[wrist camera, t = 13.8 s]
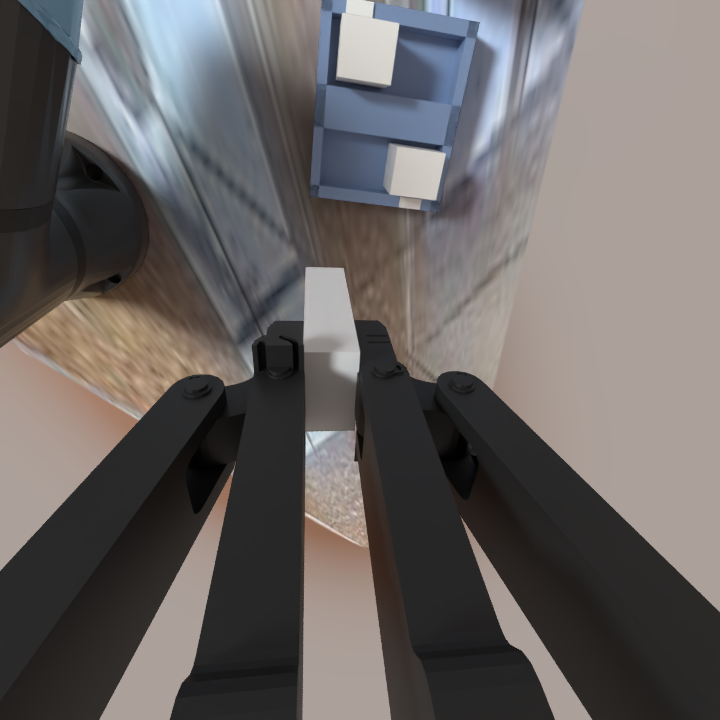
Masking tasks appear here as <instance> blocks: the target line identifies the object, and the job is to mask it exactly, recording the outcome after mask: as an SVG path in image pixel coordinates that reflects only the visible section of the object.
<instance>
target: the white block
mask: <svg viewBox="0 0 720 720" xmlns="http://www.w3.org/2000/svg"><path fill="white" fill-rule="evenodd" d="M445 156H446V153H443V152H440V151H437V150H434V149H429V148H422V147H416V146H409V145H402V144H395V143H389V146H388V153H387V160H386V166H385V173H384V180H383V187H384V188H385V189H386V190H387V192H388V193H389V194H390V195H398V196H405V197H413V198H421V199H428V200H436V198H437V193H438V188H439V184H440V179H441V174H442V170H443V165H444V160H445Z"/></svg>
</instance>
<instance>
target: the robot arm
mask: <svg viewBox="0 0 720 720" xmlns="http://www.w3.org/2000/svg"><path fill="white" fill-rule="evenodd" d="M82 8H83V0H0V348H1V347H2V346H4V345H5V344H6V343H8V342H9V341H11V340H12V339H13V338H15V337H16V336H17V335H19V334H20V333H22V332H23V331H24V330H26V329H27V328H28V327H30V326H31V325H32V324H34V323H35V322H37V321H38V320H39V319H41V318H42V317H43V316H45V315H46V314H47V313H49V312H50V311H52V310H53V309H54V308H56V307H57V306H58V305H60V304H61V303H62V302H64V301H68V300H75V299H81V298H88V297H94V296H99V295H102V294H105V293H107V292H110V291H112V290H114V289H115V288H117V287H119V286H120V285H121V284H123V283H124V282H125V281H126V280H127V279H129V278H130V277H131V276H132V275H133V274H134V273H135V272H136V271H137V270H138V268H139V267H140V265H141V264H142V262H143V260H144V258H145V255H146V252H147V248H148V241H149V229H148V221H147V217H146V213H145V209H144V206H143V204H142V201H141V199H140V197H139V195H138V193H137V191H136V189H135V188H134V186H133V184H132V183H131V181H130V180H129V179H128V177H127V176H126V175H125V173H124V172H123V171H122V170H121V169H120V167H119V166H118V165H117V164H116V163H115V162H114V161H113V160H112V159H111V158H110V157H109V156H107V155H106V154H105V153H104V152H103V151H101V150H100V149H99V148H97V147H96V146H94V145H93V144H91V143H90V142H88V141H87V140H85V139H83V138H81V137H79V136H77V135H75V134H73V133H71V132H68V131H66V127H67V121H68V115H69V109H70V103H71V97H72V91H73V85H74V79H75V73H76V67H77V64H81V61H82V54H81V52H80V50H79V48H78V47H79V37H80V27H81V18H82ZM252 352H253V363H254V376H253V377H252V378H251V379H249V380H247V381H245V382H242V383H239V384H235V385H230V386H224V383H223V381H222V380H221V379H219V378H218V377H216V376H212V375H192V376H188V377H186V378H183V379H181V380H179V381H177V382H176V383H175V384H173V385H172V386H171V387H170V388H169V389H168V390H167V391H166V392H165V393H164V395H163V396H162V397H161V398H160V399H159V400H158V401H157V402H156V403H155V404H154V405H153V406H152V408H151V409H150V410H149V411H148V412H147V413H146V414H145V415H144V416H143V417H142V418H141V419H140V420H139V422H138V423H137V424H136V425H135V426H134V427H133V428H132V429H131V430H130V431H129V432H128V434H127V435H126V436H125V437H124V438H123V439H122V440H121V441H120V442H119V443H118V444H117V445H116V447H115V448H114V449H113V450H112V451H111V452H110V453H109V454H108V455H107V456H106V457H105V458H104V459H103V460H102V462H101V463H100V464H99V465H98V466H97V467H96V468H95V469H94V470H93V471H92V472H91V473H90V475H89V476H88V477H87V478H86V479H85V480H84V481H83V482H82V483H81V484H80V485H79V486H78V488H77V489H76V490H75V491H74V492H73V493H72V494H71V495H70V496H69V497H68V498H67V499H66V501H65V502H64V503H63V504H62V505H61V506H60V507H59V508H58V509H57V510H56V511H55V512H54V514H53V515H52V516H51V517H50V518H49V519H48V520H47V521H46V522H45V523H44V524H43V525H42V527H41V528H40V529H39V530H38V531H37V532H36V533H35V534H34V535H33V536H32V537H31V538H30V539H29V541H28V542H27V543H26V544H25V545H24V546H23V547H22V548H21V549H20V550H19V551H18V552H17V553H16V555H15V556H14V557H13V558H12V559H11V560H10V561H9V562H8V563H7V564H6V565H5V567H4V568H3V569H2V570H1V571H0V720H99V719H100V717H101V715H102V713H103V711H104V710H105V708H106V706H107V704H108V702H109V700H110V699H111V697H112V695H113V693H114V691H115V689H116V687H117V685H118V684H119V682H120V680H121V678H122V676H123V674H124V672H125V670H126V669H127V667H128V665H129V663H130V661H131V659H132V657H133V656H134V653H135V652H136V650H137V648H138V646H139V644H140V642H141V641H142V639H143V637H144V635H145V633H146V631H147V629H148V627H149V626H150V624H151V622H152V620H153V618H154V616H155V614H156V613H157V611H158V609H159V607H160V605H161V603H162V601H163V600H164V597H165V596H166V594H167V592H168V590H169V588H170V586H171V585H172V583H173V581H174V579H175V577H176V575H177V573H178V572H179V570H180V568H181V566H182V564H183V562H184V560H185V558H186V556H187V555H188V553H189V551H190V549H191V547H192V545H193V543H194V541H195V540H196V538H197V536H198V534H199V532H200V530H201V529H202V527H203V525H204V523H205V521H206V519H207V517H208V515H209V514H210V512H211V510H212V508H213V506H214V504H215V502H216V500H217V498H218V497H219V495H220V493H221V491H222V489H223V487H224V486H225V484H226V482H227V480H228V478H229V476H230V474H231V473H232V471H233V469H234V465H235V469H234V473H233V478H232V483H231V488H230V493H229V498H228V503H227V507H226V512H225V517H224V522H223V527H222V532H221V537H220V541H219V546H218V551H217V556H216V561H215V566H214V571H213V576H212V580H211V585H210V590H209V595H208V600H207V605H206V609H205V615H204V619H203V624H202V629H201V634H200V639H199V644H198V648H197V653H196V658H195V661H194V666H193V668H192V671H191V673H190V675H189V676H188V677H187V678H186V679H185V681H184V682H183V683H182V685H181V687H180V689H179V691H178V694H177V696H176V699H175V703H174V706H173V710H172V714H171V718H170V720H302V698H303V697H302V696H303V695H302V694H303V615H304V614H303V612H304V529H305V525H304V524H305V431H346V430H355V420H356V427H357V431H356V445H355V458H354V461H358V464H359V472H360V480H361V488H362V495H363V503H364V511H365V519H366V526H367V534H368V542H369V550H370V557H371V565H372V573H373V581H374V588H375V596H376V604H377V611H378V619H379V627H380V635H381V642H382V650H383V658H384V666H385V674H386V681H387V689H388V697H389V705H390V713H391V720H555V719H554V716H553V713H552V711H551V708H550V706H549V704H548V701H547V698H546V696H545V693H544V691H543V688H542V686H541V683H540V681H539V679H538V677H537V675H536V672H535V670H534V668H533V666H532V664H531V662H530V661H529V660H528V659H527V657H526V656H525V655H524V653H523V652H522V651H521V650H519V649H517V648H515V647H513V646H512V645H510V644H509V643H508V641H507V640H506V639H505V637H504V634H503V632H502V630H501V628H500V625H499V622H498V619H497V616H496V614H495V611H494V608H493V605H492V602H491V600H490V597H489V594H488V591H487V589H486V586H485V583H484V580H483V577H482V575H481V572H480V569H479V566H478V564H477V561H476V558H475V555H474V553H473V550H472V547H471V544H470V541H469V539H468V536H467V533H466V530H465V528H464V525H463V522H462V520H461V517H462V519H463V520H464V522H465V523H466V525H467V526H468V528H469V529H470V531H471V532H472V534H473V536H474V537H475V539H476V540H477V542H478V543H479V545H480V546H481V548H482V550H483V551H484V553H485V554H486V556H487V557H488V559H489V560H490V562H491V563H492V565H493V566H494V568H495V569H496V571H497V573H498V574H499V576H500V577H501V579H502V580H503V582H504V584H505V585H506V587H507V588H508V590H509V591H510V593H511V594H512V596H513V597H514V599H515V601H516V602H517V604H518V605H519V607H520V608H521V610H522V611H523V613H524V615H525V616H526V618H527V619H528V621H529V622H530V624H531V625H532V627H533V628H534V630H535V631H536V633H537V635H538V636H539V638H540V639H541V641H542V642H543V644H544V645H545V647H546V649H547V650H548V652H549V653H550V655H551V656H552V658H553V659H554V661H555V662H556V664H557V666H558V667H559V669H560V670H561V672H562V673H563V675H564V676H565V678H566V679H567V681H568V683H569V684H570V685H571V687H572V689H573V690H574V692H575V693H576V695H577V696H578V698H579V700H580V701H581V703H582V704H583V706H584V707H585V709H586V710H587V712H588V714H589V715H590V717H591V718H592V720H720V612H719V611H718V610H717V609H716V608H715V607H714V606H713V605H712V604H711V603H710V602H709V601H708V600H707V599H706V598H705V597H703V596H702V594H701V593H699V592H698V591H697V590H696V589H695V588H694V587H693V586H692V585H691V584H690V583H689V582H688V581H687V580H686V579H685V578H684V577H683V576H682V575H681V574H680V573H679V572H678V571H677V570H676V569H675V568H674V567H673V566H672V565H671V564H670V563H668V561H667V560H665V559H664V557H662V556H661V555H660V554H659V553H658V552H657V551H656V550H655V549H654V548H653V547H652V546H651V545H650V544H649V543H648V542H647V541H646V540H645V539H644V538H643V537H642V536H641V535H640V534H639V533H638V532H637V531H636V530H635V529H634V528H633V527H632V526H631V525H630V524H629V523H628V522H626V521H625V520H624V519H623V518H622V517H621V516H620V515H619V514H618V513H617V512H616V511H615V510H614V509H613V508H612V507H611V506H610V505H609V504H608V503H607V502H606V501H605V500H604V499H603V498H602V497H601V496H600V495H599V494H598V493H597V492H596V491H595V490H594V489H593V488H592V487H591V486H589V484H587V483H586V482H585V481H584V480H583V479H582V478H581V477H580V476H579V475H578V474H577V473H576V472H575V471H574V470H573V469H572V468H571V467H570V466H569V465H568V464H567V463H566V462H565V461H564V460H563V459H562V458H561V457H560V456H559V455H558V454H557V453H556V452H555V451H554V450H552V448H550V447H549V446H548V445H547V444H546V443H545V442H544V441H543V440H542V439H541V438H540V437H539V436H538V435H537V434H536V433H535V432H534V431H533V430H532V429H531V428H530V427H529V426H528V425H527V424H526V423H525V422H524V421H523V420H522V419H521V418H520V417H519V416H518V415H517V414H516V413H514V412H513V411H512V410H511V409H510V408H509V407H508V406H507V405H506V404H505V403H504V402H503V401H502V400H501V399H500V398H499V397H498V396H497V395H496V394H495V393H494V392H493V391H492V390H491V389H490V388H489V387H488V386H487V385H486V384H485V383H484V382H483V381H481V380H480V379H479V378H477V377H476V376H473V375H471V374H468V373H465V372H460V371H451V372H446V373H443V374H441V375H440V376H439V377H438V379H437V384H436V383H430V382H425V381H421V380H417V379H414V378H412V377H410V375H409V372H408V370H407V369H406V367H405V366H404V365H402V364H401V363H399V362H397V359H396V356H395V353H394V350H393V347H392V344H391V341H390V338H389V337H388V332H387V329H386V327H385V326H383V325H382V324H381V323H380V322H379V321H365V320H354V319H353V314H352V309H351V304H350V299H349V294H348V289H347V284H346V279H345V274H344V269H343V268H323V267H306V273H305V305H304V321H275V322H274V323H273V324H271V325H270V326H269V327H268V330H267V335H265V336H262V337H260V338H258V339H257V340H255V341H254V343H253V344H252ZM235 462H236V464H235ZM460 515H461V516H460Z"/></svg>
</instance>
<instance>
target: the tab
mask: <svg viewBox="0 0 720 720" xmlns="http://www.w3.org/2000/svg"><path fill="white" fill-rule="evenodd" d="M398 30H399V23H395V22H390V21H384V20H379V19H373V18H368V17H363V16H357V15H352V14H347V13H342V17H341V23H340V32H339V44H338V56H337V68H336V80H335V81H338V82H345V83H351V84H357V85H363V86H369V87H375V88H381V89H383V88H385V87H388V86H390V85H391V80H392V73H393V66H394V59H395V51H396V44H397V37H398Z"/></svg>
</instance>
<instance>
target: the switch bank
mask: <svg viewBox="0 0 720 720" xmlns="http://www.w3.org/2000/svg"><path fill="white" fill-rule="evenodd" d="M342 13H347V14H352V15H357V16H363V17H368V18H373V19H379V20H384V21H390V22H395V23H399V30H398V37H397V44H396V51H395V59H394V66H393V73H392V80H391V85H390V86H388V87H385V88H383V89H381V88H375V87H369V86H363V85H357V84H351V83H345V82H338V81H335V80H336V68H337V56H338V44H339V32H340V23H341V17H342ZM479 23H480V22H475V21H470V20H465V19H460V18H454V17H449V16H444V15H439V14H434V13H428V12H423V11H418V10H413V9H407V8H402V7H397V6H392V5H387V4H381V3H376V2H371V1H366V0H322V6H321V22H320V38H319V54H318V70H317V86H316V101H315V117H314V133H313V149H312V165H311V180H310V196H312V197H320V198H328V199H335V200H343V201H351V202H359V203H367V204H375V205H383V206H391V207H399V208H407V209H415V210H423V211H431V212H438V209H439V205H440V200H441V196H442V191H443V187H444V182H445V178H446V173H447V168H448V164H449V159H450V155H451V150H452V146H453V141H454V137H455V132H456V128H457V123H458V118H459V114H460V109H461V105H462V100H463V96H464V91H465V87H466V82H467V77H468V73H469V68H470V64H471V59H472V55H473V50H474V46H475V41H476V36H477V32H478V27H479ZM389 143H395V144H402V145H409V146H416V147H422V148H429V149H434V150H437V151H440V152H443V153H446V156H445V160H444V165H443V170H442V174H441V179H440V184H439V188H438V193H437V198H436V200H428V199H421V198H413V197H405V196H398V195H390V194H389V193H388V192H387V190H386V189H385V188H384V187H383V180H384V173H385V166H386V160H387V153H388V146H389Z"/></svg>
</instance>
